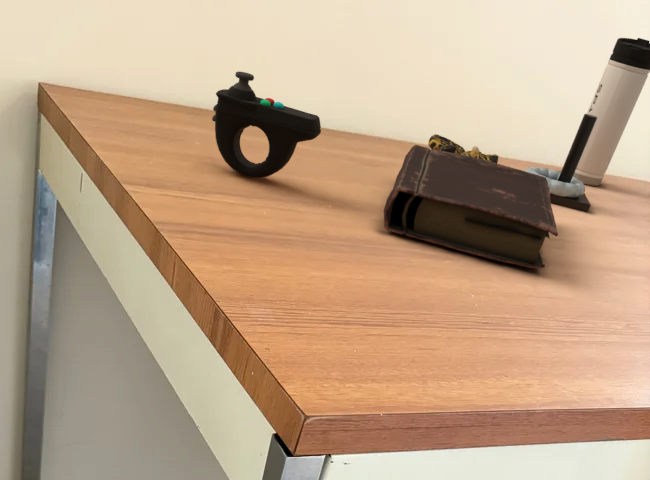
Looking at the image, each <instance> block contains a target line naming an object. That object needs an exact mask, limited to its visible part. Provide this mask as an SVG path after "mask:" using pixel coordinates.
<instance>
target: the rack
mask: <svg viewBox="0 0 650 480" xmlns="http://www.w3.org/2000/svg"><path fill="white" fill-rule="evenodd" d="M596 120H597V117H596V116H593V115H590V114H587V113H584V114H583V117H582V119H581V121H580V124H579V126H578V128H577V131H576V134H575V136H574V139H573V142H572V144H571V146H570V149H569V151H568V154H567V156H566V159H565V160H564V164H563V166H562V168H561V170H560V172H561V173H560V175H559V178H558V180H557V181H561V182H565V183H570V182H571V180H572V178H573V175H574V173H575V170H576V168H577V166H578V163H579V161H580V158H581V156H582V154H583V151H584V149H585V146H586V144H587V142H588V139H589V137H590V134H591V132H592V130H593V127H594V125H595V122H596ZM550 200H551V204H556V205H559V206H562V207H566V208H570V209H574V210H578V211H582V212H586V213H588V212H589V211H590V208H591V206H592V205H591V203H590V201H589V198H588V197H587V195H586V193H585V192H584V194H583V195H581V196H579V197H575V198H569V197H562V196H557V195H554V194H550Z"/></svg>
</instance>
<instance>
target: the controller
mask: <svg viewBox="0 0 650 480" xmlns="http://www.w3.org/2000/svg"><path fill="white" fill-rule="evenodd" d="M234 76H235V77H236V78H237V79H238V82H236V83H234V84H233V85H231V86H229V88H228V89H225V88H224V89H220V90H218V91H216V93H215V95H216V97H217V100H216V101H217V102H216V104H215V105H214V106H213V108H212V110H213V111H214V113H215V114H214V115H213V116H212V118H211V120H212V122H214V134H215V142H216V146H217V148H218V152H219V153H220V155H221V157H222V159H223V160H224V162H225V163H226V164H227V165H228V167H230V168H231V169H232V170H233V171H234V172H236V173H238V174H239V175H241V176H244V177H246V178H252V179H262V178H263V179H264V178H267V177H270V176H272V175H274V174H276V173H278V172H279V171H281V170H283V168H284V167H285V166H286V165H287V164H288V163H289V162H290V161H291V158H292V157H293V155H294V153H295V150H296V148H297V146H298V143H301V142H308V141H313V140H315V139H316V138H317V137H318V136H319V135H320V134H321V133H322V129H321V120H320V116H319V115H316V114H313V113H309V112H306V111H303V110H299V109H296V108H293V107H290V106H286V105H285V104H283V103H282V102H281V101H275V100H274V99H273V98H271V97H267V98H265V99H264V98H261V97H258V96H256V94H255V92H254V90H253V89H252V86H250V83H249V82H253V81H254V80H255V76H254V74H251V73H249V72H245V71H236V72H235V74H234ZM250 126H251V127H253V128H254V127H255V128H258V129H260V130H261V131H262V132H263V133H264V134H265V136H266V138H267V141H268V153H267V156H266V158H265V160H263V161H261V162H258V163H255V162H253V161H250V160H249V159H248V158H246V156H245V155H244V153H243V151H242V148H241V137H242V134H243V133H244V130H245V129H246V128H249V127H250Z"/></svg>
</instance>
